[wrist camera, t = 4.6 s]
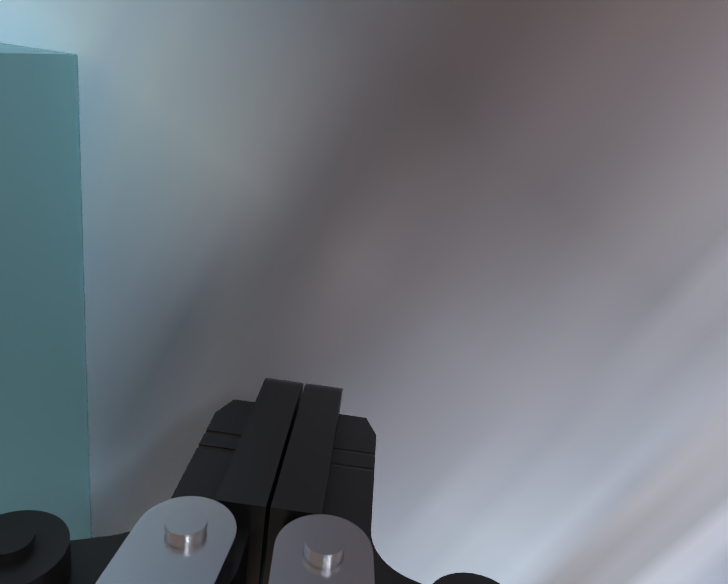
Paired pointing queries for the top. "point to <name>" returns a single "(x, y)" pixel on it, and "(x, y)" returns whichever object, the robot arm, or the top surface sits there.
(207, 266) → the top surface
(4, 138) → the teal T-block
